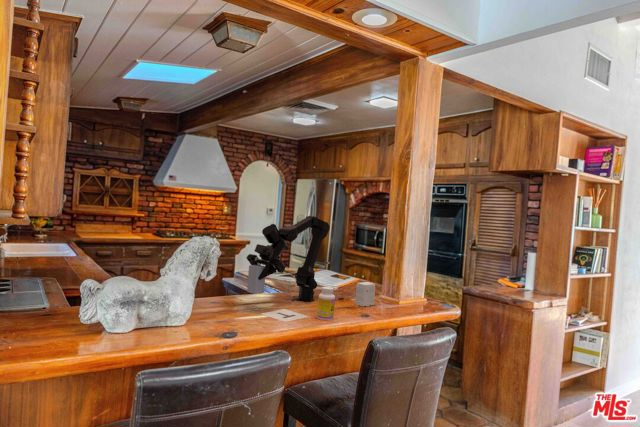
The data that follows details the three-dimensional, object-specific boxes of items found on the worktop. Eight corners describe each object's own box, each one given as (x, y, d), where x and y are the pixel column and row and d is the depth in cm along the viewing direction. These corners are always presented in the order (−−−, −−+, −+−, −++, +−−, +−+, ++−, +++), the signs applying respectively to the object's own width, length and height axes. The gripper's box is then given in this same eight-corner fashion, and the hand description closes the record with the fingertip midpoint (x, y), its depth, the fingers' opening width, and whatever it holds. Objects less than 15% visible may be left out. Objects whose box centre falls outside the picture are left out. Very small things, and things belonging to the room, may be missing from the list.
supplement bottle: (331, 322, 169) (334, 290, 169) (315, 320, 171) (318, 288, 170) (334, 318, 176) (337, 287, 176) (318, 316, 177) (321, 285, 177)
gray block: (255, 290, 182) (257, 264, 182) (264, 292, 179) (266, 266, 179) (246, 291, 178) (249, 265, 178) (255, 294, 175) (257, 267, 175)
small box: (365, 302, 211) (366, 281, 211) (374, 305, 207) (375, 283, 207) (354, 304, 205) (356, 282, 205) (363, 307, 201) (365, 284, 201)
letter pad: (259, 315, 171) (260, 313, 171) (283, 310, 182) (284, 308, 182) (285, 323, 162) (285, 321, 162) (309, 317, 173) (309, 316, 173)
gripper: (251, 235, 187) (229, 262, 178) (282, 240, 175) (261, 269, 167) (262, 252, 193) (242, 279, 185) (293, 258, 182) (273, 287, 173)
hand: (254, 278), depth 177 cm, fingers closed on gray block, 5 cm apart
